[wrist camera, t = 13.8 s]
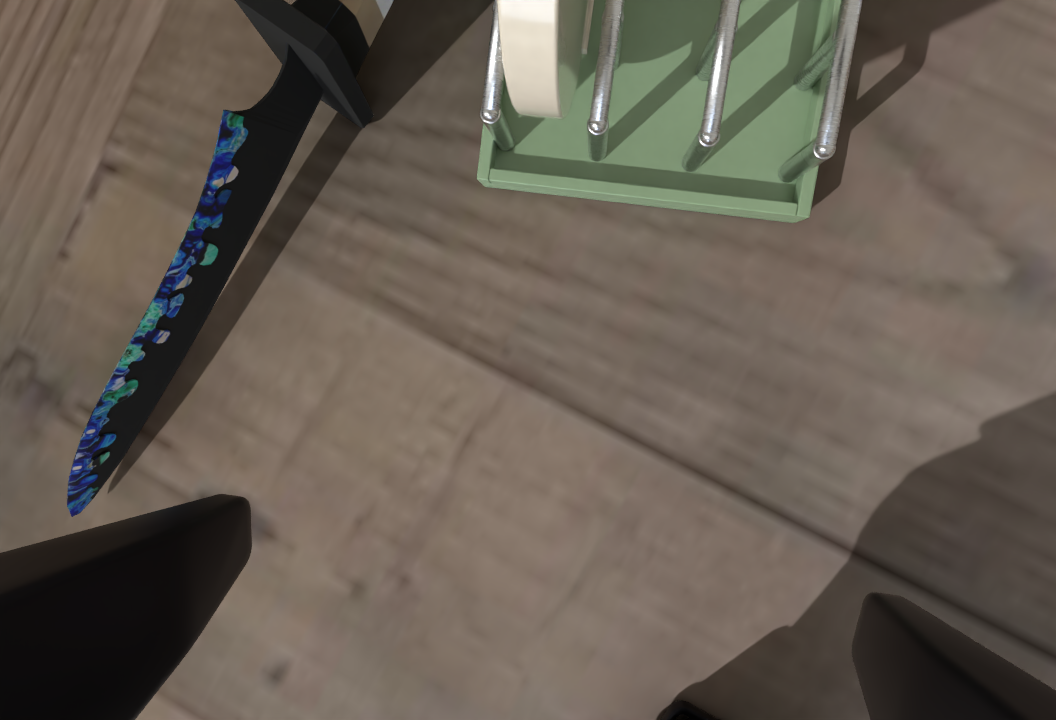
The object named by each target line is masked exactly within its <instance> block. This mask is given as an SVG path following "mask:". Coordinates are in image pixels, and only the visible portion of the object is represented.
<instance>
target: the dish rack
mask: <svg viewBox="0 0 1056 720" xmlns="http://www.w3.org/2000/svg"><path fill="white" fill-rule="evenodd" d="M862 1H863V0H595V2H594V9H593V17H592V24H591V31H590V39H589V46H588V53H587V54H582V60H581V65H580V71H579V76H578V81H577V85H576V90H575V94H574V98H573V101H572V105H571V108H570V110H569V113H568V114H567V116H566V118H564V119H561V120H559V119H549V118H539V117H530V116H522V115H520V114H519V113H517V112H516V111H515V109H514V107H513V105H512V103H511V99H510V96H509V93H508V89H507V84H506V80H505V75H504V68H503V61H502V54H501V45H500V35H499V25H498V9H497V0H495V1H494V4H493V17H492V26H491V34H490V42H489V51H488V59H487V67H486V75H485V84H484V92H483V100H482V108H481V110H480V117H481V119H482V121H483V122H484V123H483V131H482V139H481V147H480V156H479V164H478V172H477V179H478V180H479V181H480V183H482V184H483V185H484V186H485V187H492V188H500V189H509V190H517V191H526V192H534V193H543V194H551V195H560V196H568V197H577V198H585V199H594V200H603V201H611V202H620V203H628V204H637V205H645V206H654V207H662V208H671V209H679V210H688V211H696V212H705V213H713V214H722V215H730V216H739V217H747V218H756V219H764V220H773V221H781V222H790V223H796V222H798V221H801V220H804V219H807V218H809V217H810V212H811V206H812V201H813V195H814V190H815V184H816V179H817V173H818V168H819V164H821V163H823V162H824V161H826V160H827V159H829V158H831V157H832V156H833V155H834V153H835V150H836V143H837V137H838V132H839V126H840V121H841V115H842V110H843V104H844V99H845V94H846V88H847V83H848V77H849V72H850V66H851V61H852V55H853V50H854V44H855V41H856V34H857V28H858V23H859V17H860V12H861V6H862Z"/></svg>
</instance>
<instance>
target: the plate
mask: <svg viewBox="0 0 1056 720" xmlns="http://www.w3.org/2000/svg"><path fill="white" fill-rule="evenodd" d="M594 2H595V0H497V9H498V25H499V35H500V45H501V54H502V61H503V68H504V75H505V80H506V84H507V89H508V93H509V96H510V99H511V103H512V105H513V107H514V109H515V111H516V112H517V113H519V114H520V115H522V116H530V117H539V118H549V119H559V120H561V119H564V118H566V116H567V114H568V113H569V110H570V108H571V105H572V101H573V98H574V94H575V90H576V85H577V81H578V76H579V71H580V65H581V60H582V54H587V53H588V46H589V39H590V31H591V24H592V17H593V9H594Z"/></svg>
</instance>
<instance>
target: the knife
mask: <svg viewBox="0 0 1056 720" xmlns="http://www.w3.org/2000/svg"><path fill="white" fill-rule="evenodd" d="M235 1H236V2H237V4H238V5H239V6H240V8H241V9H242V10H243V12H244V13H245V14H246V16H247V17H248V18H249V20H250V21H251V23H252V24H253V25H254V27H255V28H256V29H257V31H258V32H259V33H260V35H261V36H262V37H263V39H264V40H265V41H266V43H267V44H268V46H269V47H270V48H271V50H272V51H273V52H274V54H275V55H276V56H277V58H278V59H279V60H280V62H281V63H282V64H283V65H282V67H281V70H280V73H279V75H278V77H277V79H276V80H275V82H274V84H273V86H272V87H271V89H270V90H269V92H268V93H267V94H266V95H265V96H264V97H263V98H262V99H261V100H260V101H259V102H258V103H257V104H256V105H254V106H253V107H252V108H251V109H247V110H243V111H230V110H223V114H222V119H221V124H220V129H219V134H218V139H217V144H216V147H215V151H214V155H213V158H212V162H211V165H210V169H209V172H208V176H207V180H206V182H205V185H204V188H203V191H202V194H201V197H200V200H199V203H198V206H197V209H196V212H195V214H194V216H193V218H192V220H191V223H190V225H189V227H188V229H187V231H186V233H185V236H184V238H183V240H182V242H181V244H180V246H179V248H178V250H177V252H176V254H175V256H174V258H173V260H172V262H171V264H170V266H169V268H168V270H167V273H166V274H165V276H164V278H163V280H162V282H161V284H160V286H159V288H158V290H157V292H156V294H155V296H154V298H153V300H152V302H151V304H150V306H149V307H148V309H147V311H146V313H145V315H144V317H143V318H142V320H141V322H140V324H139V326H138V328H137V329H136V331H135V333H134V335H133V337H132V339H131V340H130V342H129V344H128V346H127V348H126V350H125V351H124V353H123V355H122V357H121V359H120V361H119V363H118V364H117V366H116V368H115V370H114V372H113V374H112V376H111V377H110V379H109V381H108V383H107V385H106V387H105V389H104V391H103V393H102V395H101V397H100V399H99V401H98V402H97V404H96V406H95V408H94V410H93V412H92V415H91V417H90V419H89V421H88V423H87V426H86V428H85V430H84V432H83V434H82V437H81V440H80V443H79V446H78V449H77V452H76V455H75V458H74V461H73V465H72V469H71V473H70V476H69V481H68V494H67V507H68V509H69V511H70V514H71V516H72V517H73V516H75V515H77V514H79V513H80V512H81V511H82V510H83V509H84V508H85V507H86V506H87V505H88V504H89V502H90V501H91V500H92V499H93V498H94V497H95V496H96V494H97V493H98V492H99V490H100V489H101V487H102V486H103V485H104V483H105V482H106V481H107V479H108V478H109V477H110V475H111V474H112V473H113V471H114V470H115V468H116V467H117V466H118V464H119V463H120V462H121V460H122V459H123V457H124V456H125V454H126V452H127V451H128V449H129V448H130V446H131V444H132V443H133V441H134V440H135V438H136V436H137V435H138V433H139V432H140V430H141V428H142V427H143V425H144V424H145V422H146V420H147V419H148V417H149V415H150V414H151V412H152V410H153V409H154V407H155V405H156V404H157V402H158V401H159V399H160V397H161V396H162V394H163V392H164V391H165V389H166V387H167V386H168V384H169V382H170V381H171V379H172V377H173V376H174V374H175V372H176V371H177V369H178V367H179V366H180V364H181V362H182V360H183V359H184V357H185V355H186V353H187V352H188V350H189V348H190V347H191V345H192V343H193V341H194V340H195V338H196V336H197V334H198V333H199V331H200V329H201V327H202V326H203V324H204V322H205V320H206V319H207V317H208V315H209V313H210V312H211V310H212V308H213V306H214V304H215V302H216V301H217V299H218V297H219V295H220V293H221V291H222V289H223V288H224V286H225V284H226V282H227V280H228V278H229V276H230V274H231V273H232V271H233V269H234V267H235V265H236V263H237V261H238V260H239V258H240V256H241V254H242V252H243V250H244V248H245V246H246V245H247V243H248V241H249V239H250V237H251V235H252V233H253V232H254V230H255V228H256V226H257V224H258V222H259V220H260V218H261V217H262V215H263V213H264V211H265V209H266V207H267V205H268V204H269V202H270V200H271V198H272V196H273V194H274V192H275V190H276V188H277V186H278V184H279V182H280V180H281V178H282V176H283V174H284V172H285V170H286V168H287V166H288V164H289V162H290V160H291V158H292V156H293V154H294V152H295V150H296V147H297V145H298V143H299V141H300V139H301V137H302V135H303V133H304V131H305V129H306V127H307V125H308V123H309V121H310V119H311V117H312V115H313V113H314V111H315V109H316V107H317V105H318V103H319V101H320V99H321V100H322V101H323V102H325V103H326V104H328V105H329V106H331V107H332V108H333V109H335V110H336V111H338V112H339V113H341V114H342V115H343V116H345V117H346V118H348V119H349V120H351V121H352V122H353V123H355V124H356V125H358V126H359V127H361V128H364V127H365V126H366V125H367V124H368V122H369V121H370V120H371V119H372V118H373V116H374V115H373V113H372V111H371V109H370V107H369V105H368V103H367V101H366V99H365V97H364V95H363V93H362V91H361V89H360V87H359V85H358V83H357V81H356V79H355V77H356V75H357V73H358V71H359V69H360V67H361V65H362V63H363V61H364V59H365V57H366V55H367V53H368V50H369V48H370V46H371V44H372V42H373V40H374V38H375V36H376V34H377V32H378V30H379V28H380V26H381V24H382V22H383V20H384V18H385V16H386V14H387V13H388V11H389V9H390V7H391V5H392V3H393V1H394V0H296V1H295V2H294V3H293V4H292V5H290V4H288V3H287V2H285V1H284V0H235Z"/></svg>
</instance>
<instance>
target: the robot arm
mask: <svg viewBox="0 0 1056 720" xmlns="http://www.w3.org/2000/svg"><path fill="white" fill-rule="evenodd" d="M251 548H252V536H251V509H250V504H249V501H248V500H247V499H246V498H244V497H240V496H233V495H226V494H218V495H214V496H210V497H207V498H203V499H199V500H196V501H192V502H188V503H184V504H181V505H177V506H173V507H170V508H166V509H162V510H158V511H155V512H151V513H147V514H144V515H140V516H136V517H133V518H129V519H125V520H121V521H118V522H114V523H110V524H107V525H103V526H99V527H95V528H92V529H88V530H84V531H81V532H77V533H73V534H69V535H66V536H62V537H58V538H55V539H51V540H47V541H43V542H40V543H36V544H32V545H29V546H25V547H21V548H17V549H14V550H10V551H6V552H3V553H0V720H135V719H136V718H137V716H138V715H139V714H140V713H141V711H142V710H143V709H144V708H145V706H146V705H147V704H148V703H149V701H150V700H151V699H152V697H153V696H154V695H155V694H156V692H157V691H158V690H159V689H160V687H161V686H162V685H163V684H164V682H165V681H166V680H167V679H168V677H169V676H170V675H171V674H172V672H173V671H174V670H175V668H176V667H177V666H178V665H179V663H180V662H181V661H182V659H183V658H184V657H185V655H186V654H187V653H188V651H189V650H190V649H191V647H192V646H193V644H194V643H195V641H196V640H197V639H198V637H199V636H200V634H201V633H202V631H203V630H204V628H205V627H206V625H207V623H208V622H209V620H210V619H211V617H212V616H213V614H214V613H215V611H216V610H217V608H218V607H219V605H220V603H221V602H222V600H223V599H224V597H225V596H226V594H227V593H228V591H229V590H230V588H231V587H232V585H233V583H234V582H235V580H236V579H237V577H238V576H239V574H240V573H241V571H242V570H243V568H244V567H245V565H246V563H247V561H248V559H249V557H250V553H251ZM852 657H853V662H854V666H855V669H856V672H857V676H858V679H859V682H860V686H861V689H862V692H863V695H864V699H865V702H866V705H867V709H868V712H869V715H870V719H871V720H1056V690H1054V689H1052V688H1051V687H1049V686H1047V685H1046V684H1044V683H1043V682H1041V681H1039V680H1038V679H1036V678H1034V677H1033V676H1031V675H1030V674H1028V673H1026V672H1025V671H1023V670H1021V669H1020V668H1018V667H1016V666H1015V665H1013V664H1012V663H1010V662H1008V661H1007V660H1005V659H1003V658H1002V657H1000V656H999V655H997V654H995V653H994V652H992V651H990V650H989V649H987V648H985V647H984V646H982V645H981V644H979V643H977V642H976V641H974V640H972V639H971V638H969V637H968V636H966V635H964V634H963V633H961V632H959V631H958V630H956V629H954V628H953V627H951V626H950V625H948V624H946V623H945V622H943V621H941V620H940V619H938V618H937V617H935V616H933V615H932V614H930V613H928V612H927V611H925V610H924V609H922V608H920V607H919V606H917V605H915V604H914V603H912V602H910V601H909V600H907V599H906V598H904V597H901V596H897V595H890V594H884V593H877V592H872V593H870V594H868V595H867V596H866V597H865V599H864V601H863V605H862V608H861V612H860V616H859V620H858V623H857V627H856V631H855V635H854V639H853V643H852ZM679 715H686V716H688V718H687V719H686V720H719V719H717V718H715V717H713V716H712V715H710V714H708V713H706V712H705V711H703V710H701V709H699V708H697V707H696V706H694V705H692V704H690V703H688V702H686V701H676V702H674V703H672V704H671V705H670V706H669V707H668V709H667V711H666V712H665V714H664V716H663V717H662V719H661V720H678V719H677V717H678V716H679Z"/></svg>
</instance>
